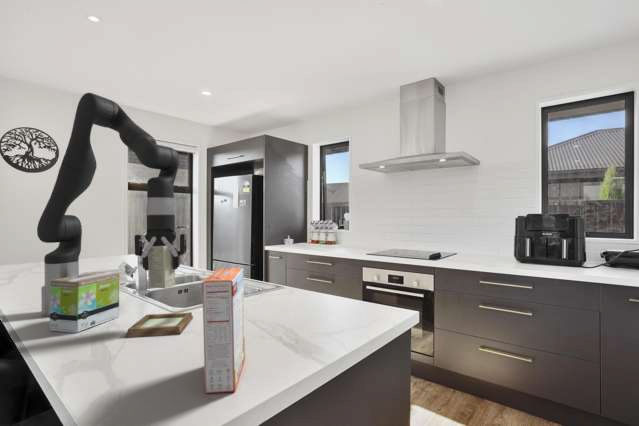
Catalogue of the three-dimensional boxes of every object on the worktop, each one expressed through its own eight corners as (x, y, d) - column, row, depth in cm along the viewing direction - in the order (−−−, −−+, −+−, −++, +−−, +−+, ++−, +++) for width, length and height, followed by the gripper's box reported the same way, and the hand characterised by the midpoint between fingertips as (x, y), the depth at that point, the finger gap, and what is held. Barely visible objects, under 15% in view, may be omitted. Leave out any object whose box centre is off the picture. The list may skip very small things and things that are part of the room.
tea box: (78, 333, 93) (77, 280, 93) (48, 331, 95) (48, 279, 95) (120, 317, 107) (120, 271, 107) (94, 315, 109) (94, 270, 109)
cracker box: (218, 361, 74) (217, 267, 74) (246, 359, 75) (245, 267, 75) (201, 395, 60) (200, 280, 60) (235, 393, 61) (234, 279, 61)
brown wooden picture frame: (126, 337, 89) (126, 329, 89) (146, 320, 103) (146, 314, 103) (180, 334, 91) (180, 326, 91) (193, 318, 105) (192, 312, 105)
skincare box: (175, 285, 98) (175, 244, 98) (164, 289, 94) (163, 246, 94) (159, 284, 100) (158, 244, 100) (147, 287, 96) (146, 245, 96)
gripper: (189, 213, 102) (190, 266, 102) (140, 213, 100) (140, 268, 100) (182, 213, 95) (183, 271, 95) (129, 213, 93) (129, 272, 93)
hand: (161, 269), depth 97 cm, fingers closed on skincare box, 7 cm apart
